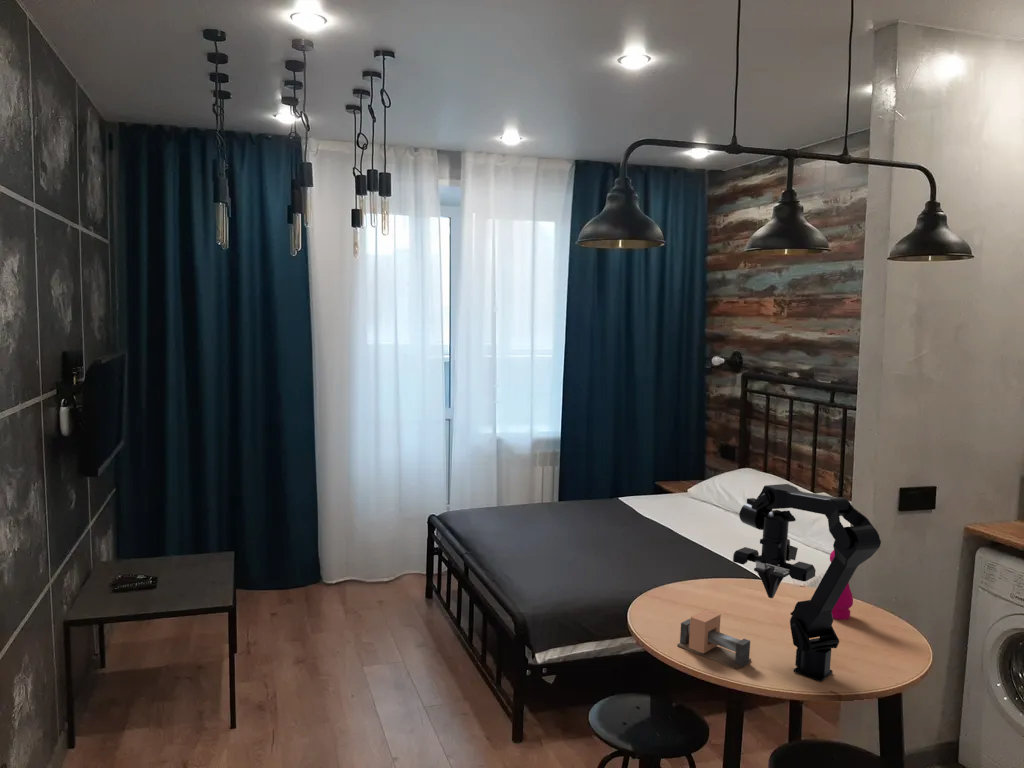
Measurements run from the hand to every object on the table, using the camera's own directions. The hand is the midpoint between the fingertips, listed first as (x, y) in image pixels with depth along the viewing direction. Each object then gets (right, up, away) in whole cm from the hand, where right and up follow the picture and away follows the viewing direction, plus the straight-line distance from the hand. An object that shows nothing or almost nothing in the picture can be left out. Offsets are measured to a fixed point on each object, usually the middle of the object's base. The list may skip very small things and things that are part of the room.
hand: (771, 597), depth 188 cm
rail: (-15, -12, -4) cm, 20 cm away
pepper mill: (+25, -11, +21) cm, 34 cm away
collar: (-17, -12, -3) cm, 21 cm away
